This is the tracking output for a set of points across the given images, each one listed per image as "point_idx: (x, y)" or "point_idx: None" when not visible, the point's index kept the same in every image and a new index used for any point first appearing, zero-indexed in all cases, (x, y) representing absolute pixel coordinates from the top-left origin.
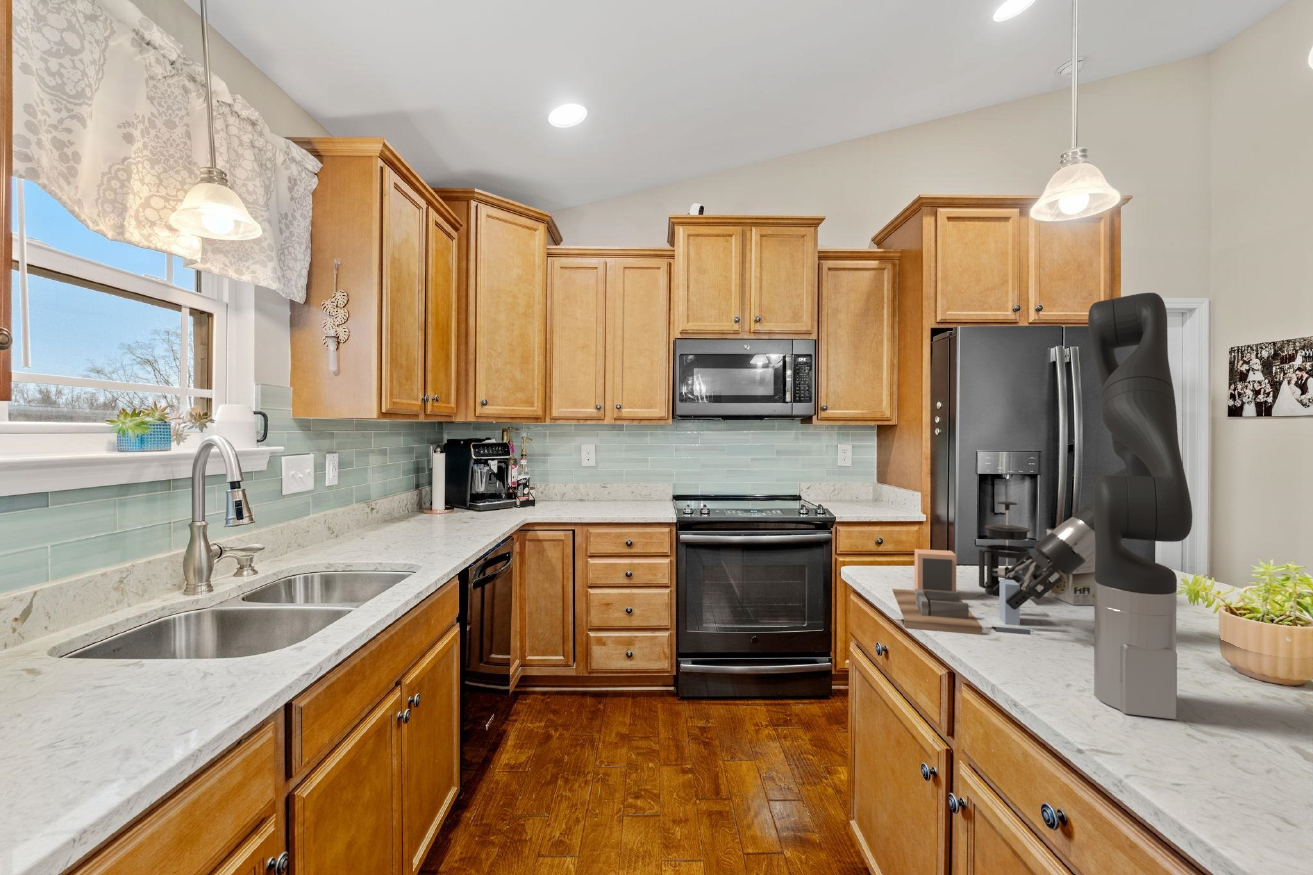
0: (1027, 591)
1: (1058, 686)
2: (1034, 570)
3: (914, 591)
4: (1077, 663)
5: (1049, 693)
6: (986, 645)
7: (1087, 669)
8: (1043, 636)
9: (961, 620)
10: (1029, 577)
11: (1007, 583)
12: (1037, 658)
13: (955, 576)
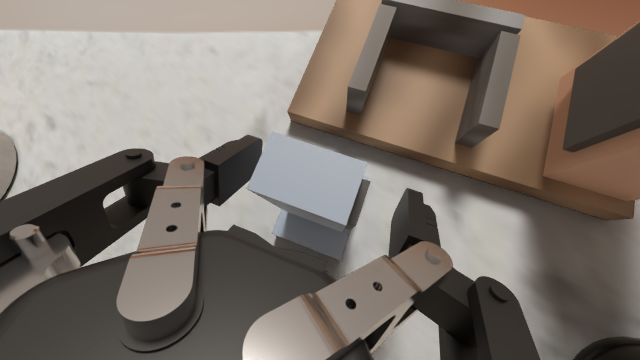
0: (162, 163)
1: (53, 105)
2: (140, 247)
3: None
4: None
5: (42, 76)
6: (232, 95)
7: None
8: None
9: (338, 89)
10: (157, 192)
11: (281, 147)
12: (153, 149)
13: (634, 144)
